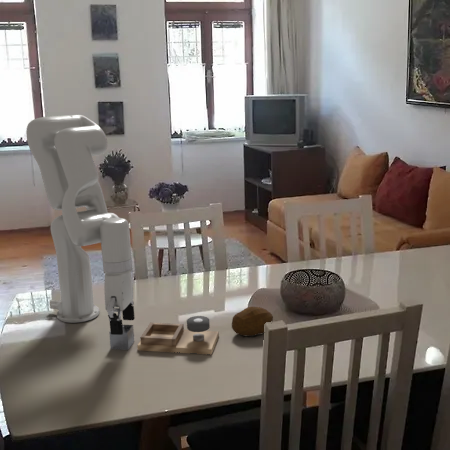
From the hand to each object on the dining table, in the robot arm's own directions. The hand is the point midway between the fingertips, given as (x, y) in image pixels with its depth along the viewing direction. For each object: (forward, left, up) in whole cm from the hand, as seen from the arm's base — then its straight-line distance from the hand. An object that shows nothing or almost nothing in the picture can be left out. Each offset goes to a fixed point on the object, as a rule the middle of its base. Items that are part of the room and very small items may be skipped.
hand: (123, 326), depth 164 cm
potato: (+33, +13, -6) cm, 36 cm away
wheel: (+20, +4, -1) cm, 20 cm away
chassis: (+14, +4, -6) cm, 16 cm away
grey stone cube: (-1, +1, -6) cm, 6 cm away
